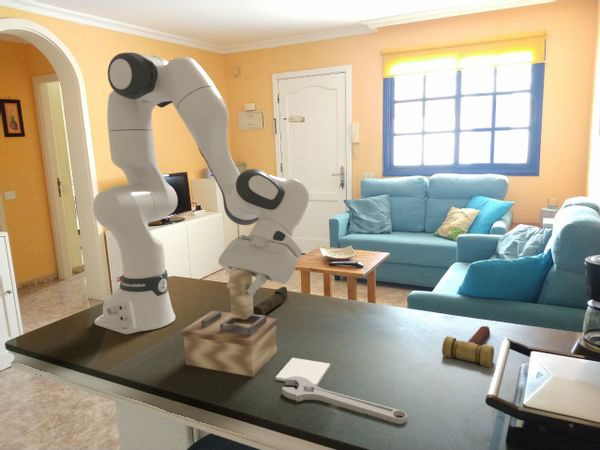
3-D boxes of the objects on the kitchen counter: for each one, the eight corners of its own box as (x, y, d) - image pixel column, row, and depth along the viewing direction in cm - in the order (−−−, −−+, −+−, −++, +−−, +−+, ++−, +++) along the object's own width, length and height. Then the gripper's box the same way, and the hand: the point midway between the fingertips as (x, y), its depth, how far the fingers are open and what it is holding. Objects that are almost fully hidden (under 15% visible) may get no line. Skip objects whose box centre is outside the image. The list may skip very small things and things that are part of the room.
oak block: (231, 317, 98) (229, 273, 96) (239, 311, 101) (237, 269, 99) (245, 319, 97) (243, 275, 95) (253, 313, 100) (251, 270, 98)
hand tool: (261, 321, 124) (260, 305, 123) (249, 319, 126) (249, 303, 125) (294, 300, 140) (294, 286, 139) (283, 298, 142) (283, 284, 141)
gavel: (467, 315, 115) (509, 322, 110) (466, 332, 116) (508, 340, 110) (442, 339, 98) (490, 350, 93) (441, 359, 99) (488, 371, 93)
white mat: (275, 379, 92) (275, 376, 92) (292, 360, 100) (292, 357, 100) (316, 387, 89) (316, 384, 89) (330, 366, 97) (330, 363, 97)
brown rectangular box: (184, 365, 100) (180, 324, 98) (214, 341, 111) (212, 304, 109) (253, 377, 93) (251, 334, 91) (278, 351, 105) (277, 312, 103)
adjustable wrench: (409, 420, 78) (409, 411, 78) (395, 440, 73) (395, 431, 73) (293, 380, 92) (293, 373, 92) (274, 395, 87) (274, 387, 87)
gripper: (230, 227, 107) (200, 275, 102) (295, 236, 95) (264, 293, 89) (245, 241, 112) (216, 289, 106) (308, 253, 99) (280, 307, 93)
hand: (239, 291), depth 97 cm, fingers closed on oak block, 4 cm apart
